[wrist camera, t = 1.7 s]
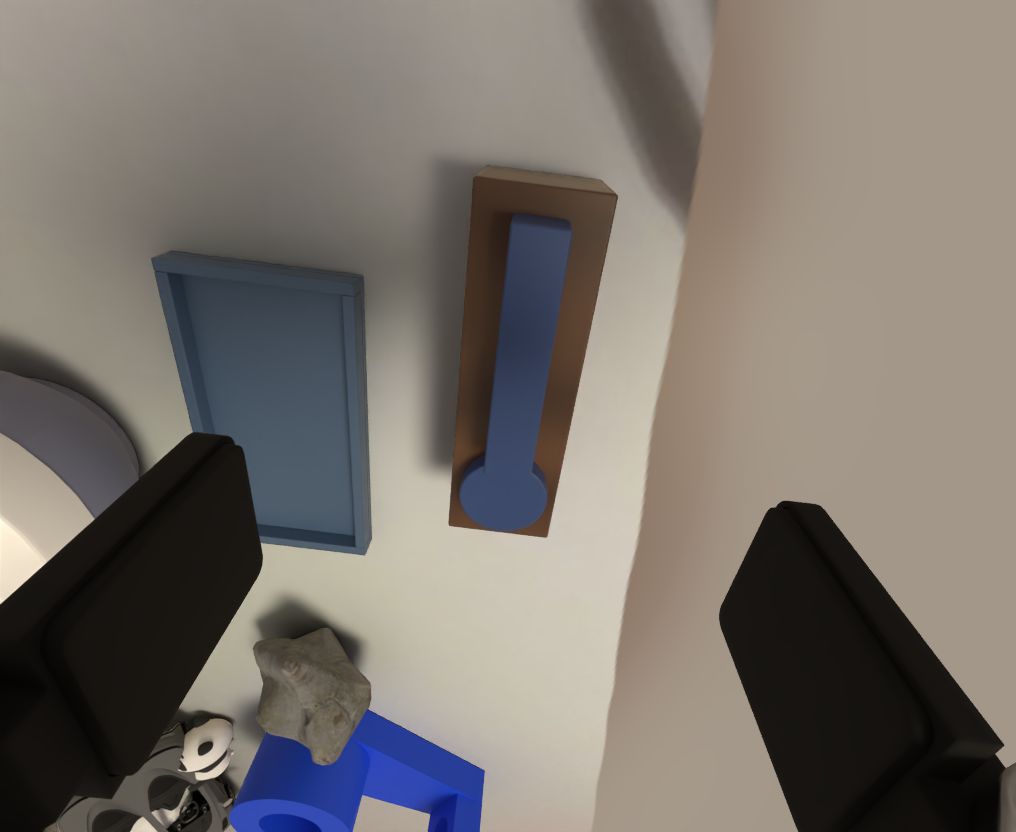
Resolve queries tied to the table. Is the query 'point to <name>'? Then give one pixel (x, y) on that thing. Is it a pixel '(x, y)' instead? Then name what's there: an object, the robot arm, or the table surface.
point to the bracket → (357, 783)
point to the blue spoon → (520, 378)
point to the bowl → (53, 472)
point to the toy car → (167, 787)
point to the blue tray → (279, 387)
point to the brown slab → (486, 264)
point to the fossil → (311, 692)
